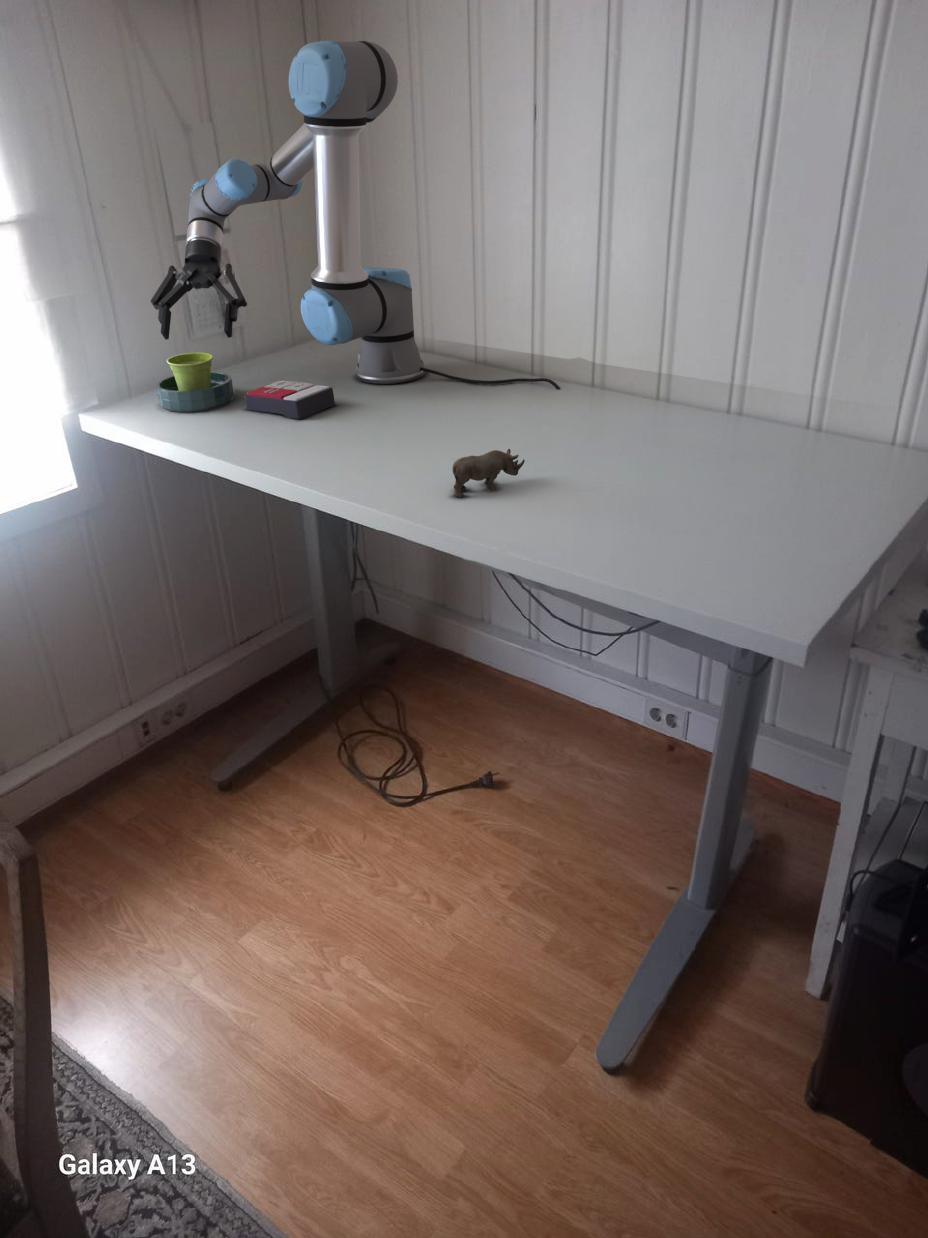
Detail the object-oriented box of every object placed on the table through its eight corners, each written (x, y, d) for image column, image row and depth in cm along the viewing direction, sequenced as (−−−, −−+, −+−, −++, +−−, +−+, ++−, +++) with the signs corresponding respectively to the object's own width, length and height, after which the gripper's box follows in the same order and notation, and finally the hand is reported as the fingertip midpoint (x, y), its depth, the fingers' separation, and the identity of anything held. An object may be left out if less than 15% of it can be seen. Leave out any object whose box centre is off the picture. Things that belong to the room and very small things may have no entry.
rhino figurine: (532, 481, 157) (532, 446, 155) (458, 499, 152) (456, 463, 149) (519, 474, 161) (518, 439, 158) (446, 491, 155) (444, 456, 152)
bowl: (249, 398, 206) (246, 377, 204) (191, 417, 196) (187, 395, 193) (203, 387, 214) (200, 367, 212) (145, 405, 204) (141, 384, 202)
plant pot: (228, 393, 207) (221, 353, 203) (204, 406, 200) (196, 365, 195) (190, 391, 210) (183, 351, 206) (165, 404, 202) (157, 362, 198)
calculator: (280, 378, 205) (333, 383, 197) (283, 398, 207) (336, 404, 199) (242, 391, 197) (296, 397, 189) (246, 412, 199) (299, 419, 191)
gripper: (264, 257, 212) (258, 342, 207) (154, 261, 214) (145, 346, 208) (255, 235, 205) (249, 322, 200) (141, 239, 207) (131, 326, 201)
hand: (196, 335), depth 204 cm, fingers open, 13 cm apart
